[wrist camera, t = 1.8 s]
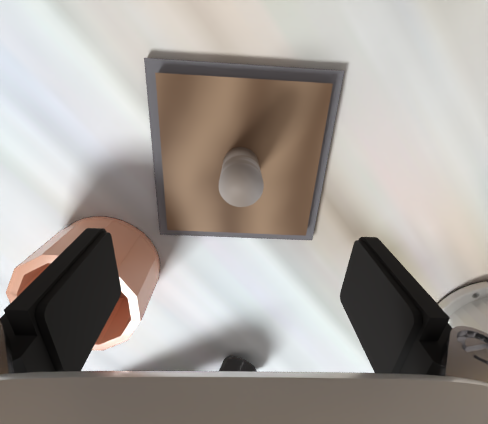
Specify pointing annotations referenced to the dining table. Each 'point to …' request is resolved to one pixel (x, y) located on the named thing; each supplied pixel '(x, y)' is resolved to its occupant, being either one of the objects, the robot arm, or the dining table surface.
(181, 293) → the dining table surface
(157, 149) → the charcoal tray
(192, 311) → the dining table surface
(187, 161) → the walnut lid
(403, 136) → the dining table surface
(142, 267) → the terracotta pot
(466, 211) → the dining table surface
